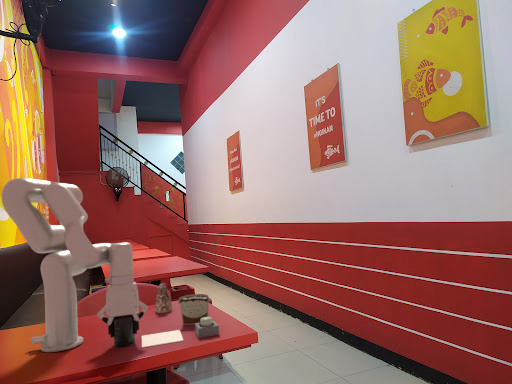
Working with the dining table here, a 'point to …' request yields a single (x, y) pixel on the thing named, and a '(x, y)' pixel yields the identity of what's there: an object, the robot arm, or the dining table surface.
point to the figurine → (163, 299)
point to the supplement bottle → (123, 331)
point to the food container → (194, 308)
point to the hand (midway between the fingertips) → (124, 334)
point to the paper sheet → (161, 338)
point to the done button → (206, 321)
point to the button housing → (207, 330)
